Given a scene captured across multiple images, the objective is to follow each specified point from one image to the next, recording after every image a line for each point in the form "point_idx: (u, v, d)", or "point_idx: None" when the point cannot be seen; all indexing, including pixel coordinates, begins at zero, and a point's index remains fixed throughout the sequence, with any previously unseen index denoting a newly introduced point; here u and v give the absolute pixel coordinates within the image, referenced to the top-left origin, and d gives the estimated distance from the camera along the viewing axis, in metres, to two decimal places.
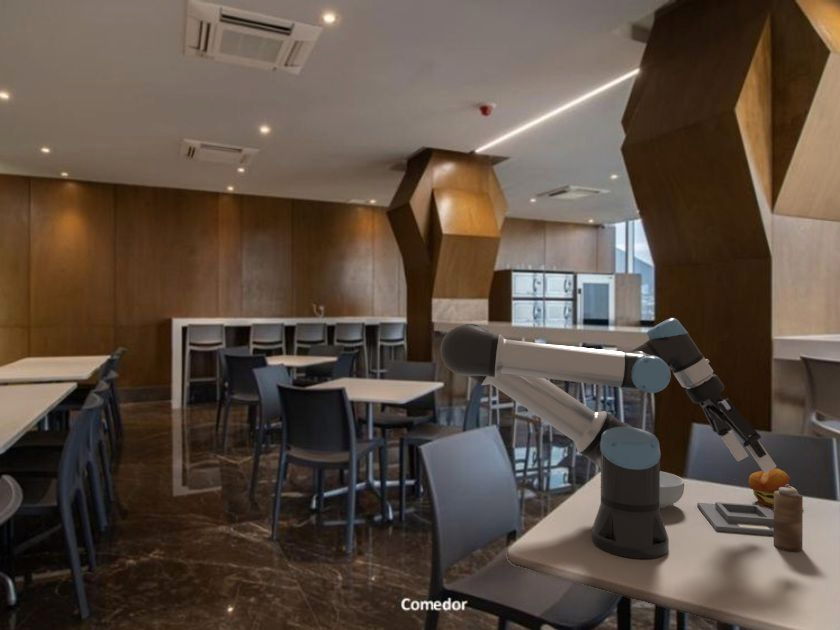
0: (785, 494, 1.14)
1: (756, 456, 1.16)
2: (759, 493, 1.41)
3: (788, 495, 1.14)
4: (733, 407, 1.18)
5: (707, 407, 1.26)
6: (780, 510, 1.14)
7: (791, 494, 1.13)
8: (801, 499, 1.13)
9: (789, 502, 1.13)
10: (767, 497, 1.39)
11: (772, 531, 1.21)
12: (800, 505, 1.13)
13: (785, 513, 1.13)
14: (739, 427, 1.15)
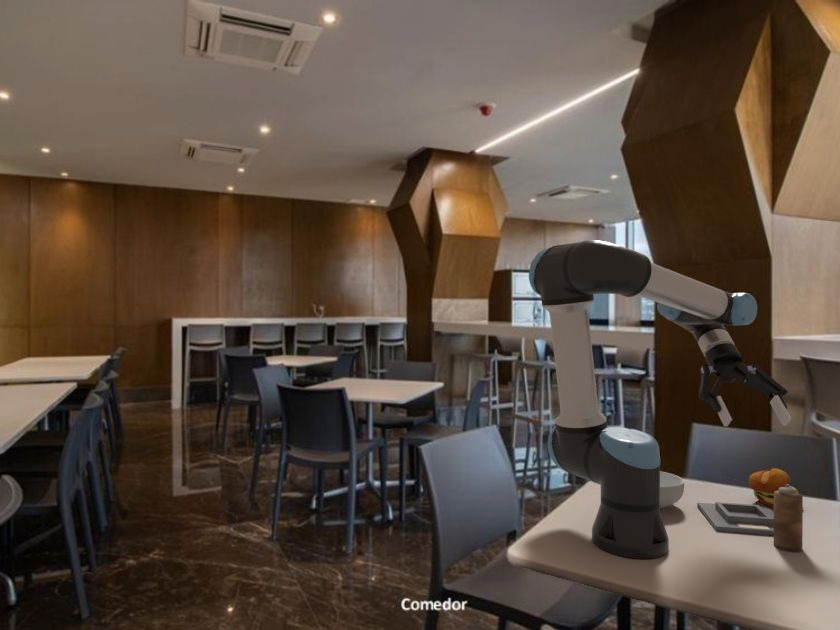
0: (785, 494, 1.14)
1: None
2: (759, 493, 1.41)
3: (788, 495, 1.14)
4: None
5: None
6: (780, 510, 1.14)
7: (791, 494, 1.13)
8: (801, 499, 1.13)
9: (789, 502, 1.13)
10: (767, 497, 1.39)
11: (772, 531, 1.21)
12: (800, 505, 1.13)
13: (785, 513, 1.13)
14: None
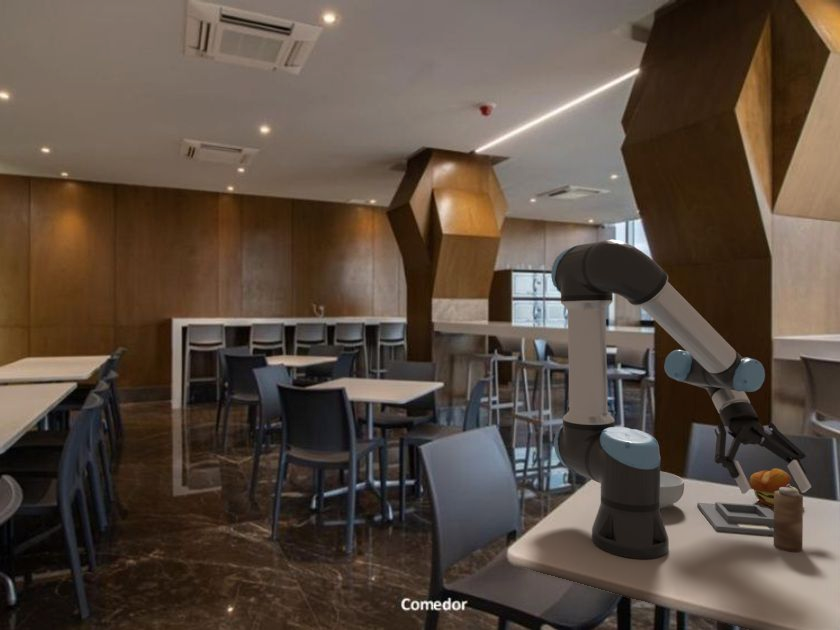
0: (785, 494, 1.14)
1: None
2: (760, 493, 1.41)
3: (788, 495, 1.14)
4: None
5: None
6: (780, 510, 1.14)
7: (791, 494, 1.13)
8: (801, 499, 1.13)
9: (789, 502, 1.13)
10: (768, 497, 1.39)
11: (772, 531, 1.21)
12: (800, 505, 1.13)
13: (785, 513, 1.13)
14: None
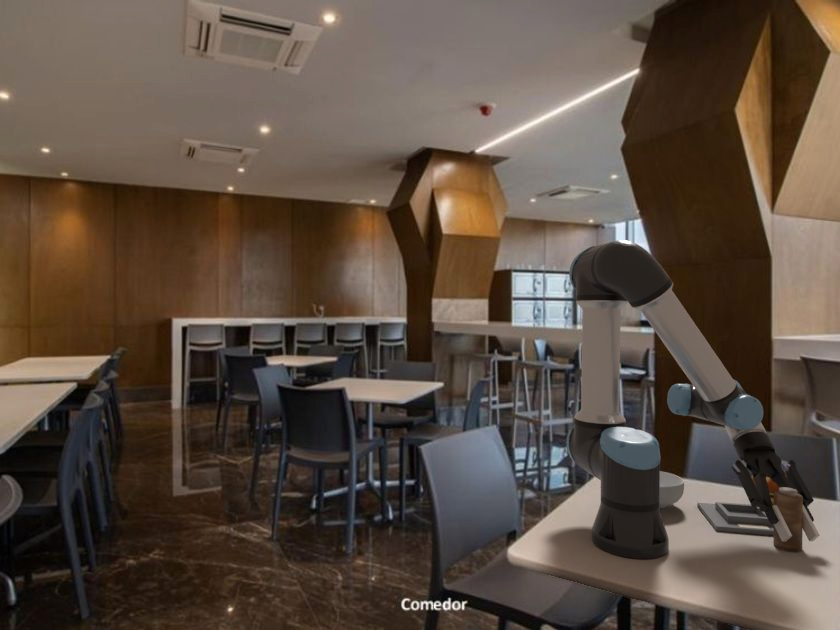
0: (785, 494, 1.14)
1: None
2: None
3: (788, 495, 1.14)
4: None
5: None
6: (780, 510, 1.14)
7: (791, 494, 1.13)
8: (801, 499, 1.13)
9: (789, 502, 1.13)
10: None
11: (772, 531, 1.21)
12: (800, 505, 1.13)
13: (785, 513, 1.13)
14: None
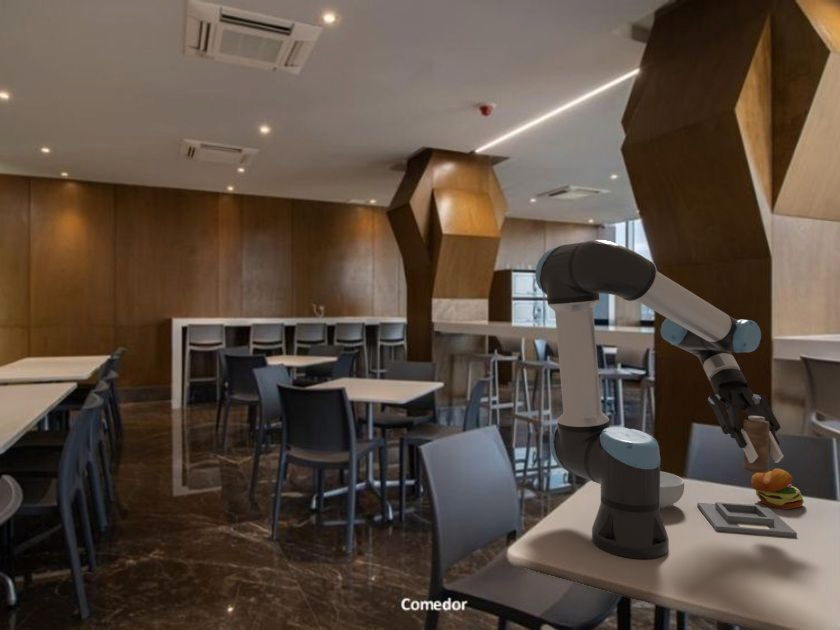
0: (753, 421, 1.25)
1: None
2: (762, 493, 1.41)
3: (756, 421, 1.24)
4: None
5: None
6: (749, 435, 1.25)
7: (759, 420, 1.24)
8: (768, 425, 1.24)
9: (756, 427, 1.24)
10: (770, 497, 1.39)
11: (772, 531, 1.21)
12: (767, 430, 1.23)
13: (753, 437, 1.24)
14: None
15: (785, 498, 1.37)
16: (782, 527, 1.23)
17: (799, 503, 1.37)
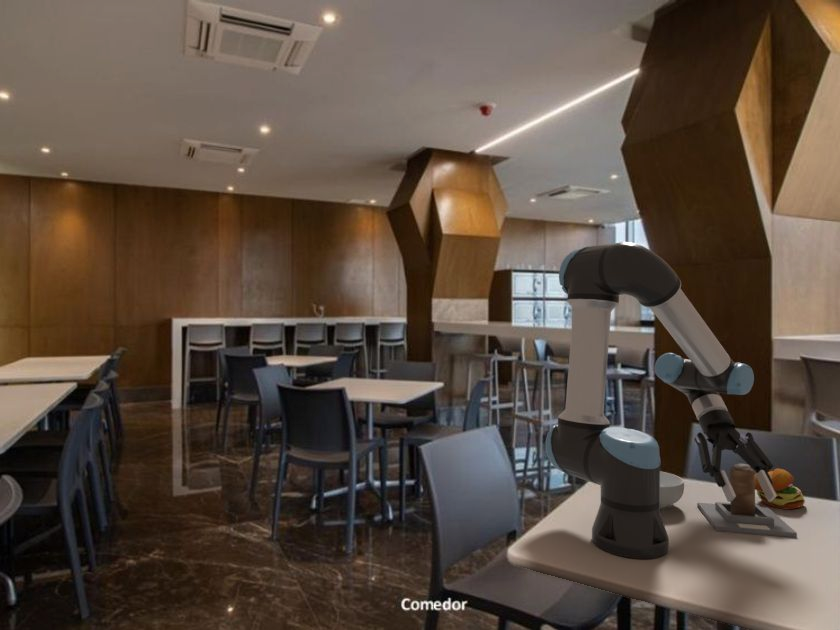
0: (739, 469, 1.29)
1: None
2: (763, 493, 1.41)
3: (742, 470, 1.28)
4: None
5: None
6: (735, 483, 1.29)
7: (744, 469, 1.28)
8: (753, 473, 1.28)
9: (742, 475, 1.28)
10: None
11: (772, 531, 1.21)
12: (752, 478, 1.27)
13: (739, 485, 1.28)
14: None
15: (786, 498, 1.37)
16: (782, 527, 1.23)
17: (800, 503, 1.37)
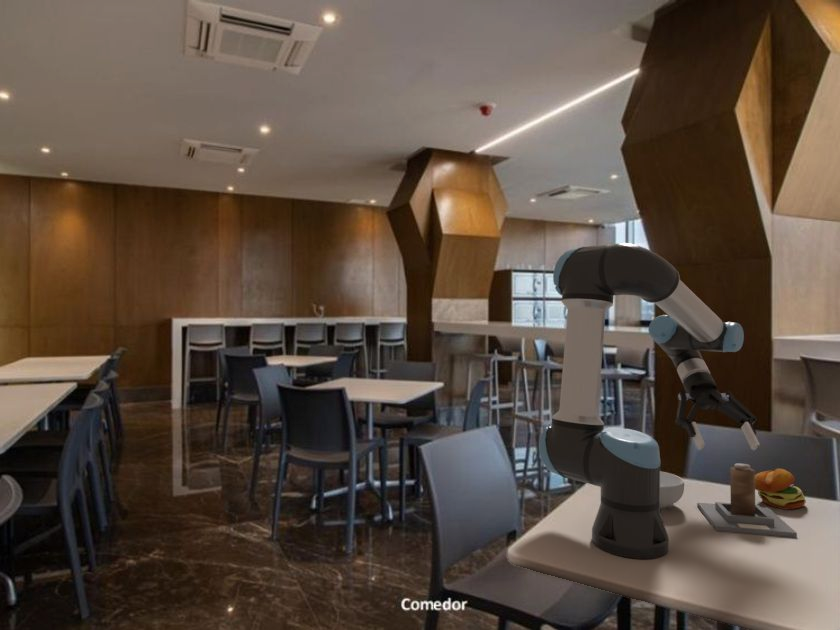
0: (740, 469, 1.29)
1: None
2: (764, 493, 1.41)
3: (742, 469, 1.28)
4: None
5: None
6: (735, 483, 1.29)
7: (745, 469, 1.28)
8: (753, 473, 1.28)
9: (743, 475, 1.28)
10: (772, 497, 1.39)
11: (772, 531, 1.21)
12: (752, 478, 1.28)
13: (740, 485, 1.28)
14: None
15: (787, 498, 1.37)
16: (782, 527, 1.23)
17: (801, 503, 1.37)
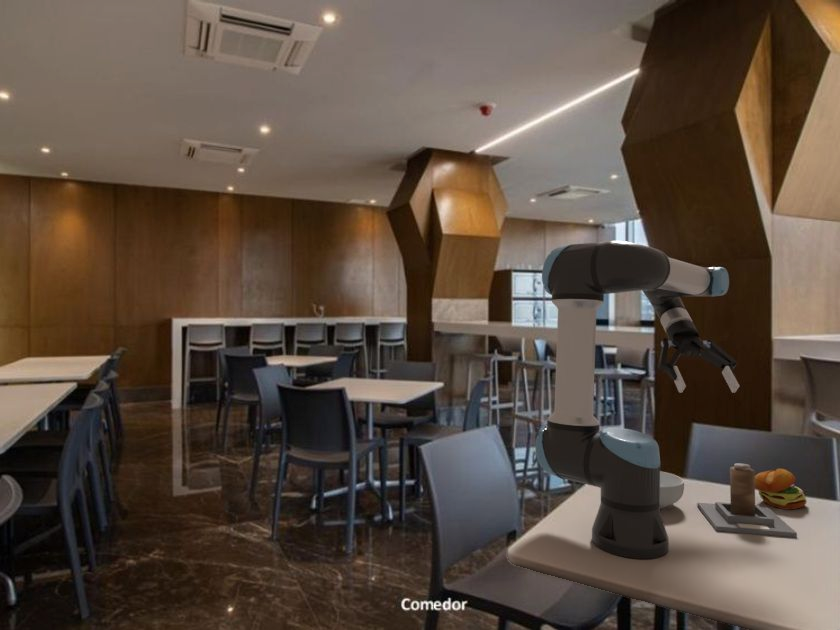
0: (739, 469, 1.29)
1: None
2: (764, 493, 1.41)
3: (742, 470, 1.28)
4: None
5: None
6: (735, 483, 1.29)
7: (745, 469, 1.28)
8: (753, 473, 1.28)
9: (743, 475, 1.27)
10: (773, 497, 1.39)
11: (772, 531, 1.21)
12: (752, 478, 1.28)
13: (740, 485, 1.28)
14: None
15: (788, 498, 1.37)
16: (782, 527, 1.23)
17: (802, 503, 1.37)
